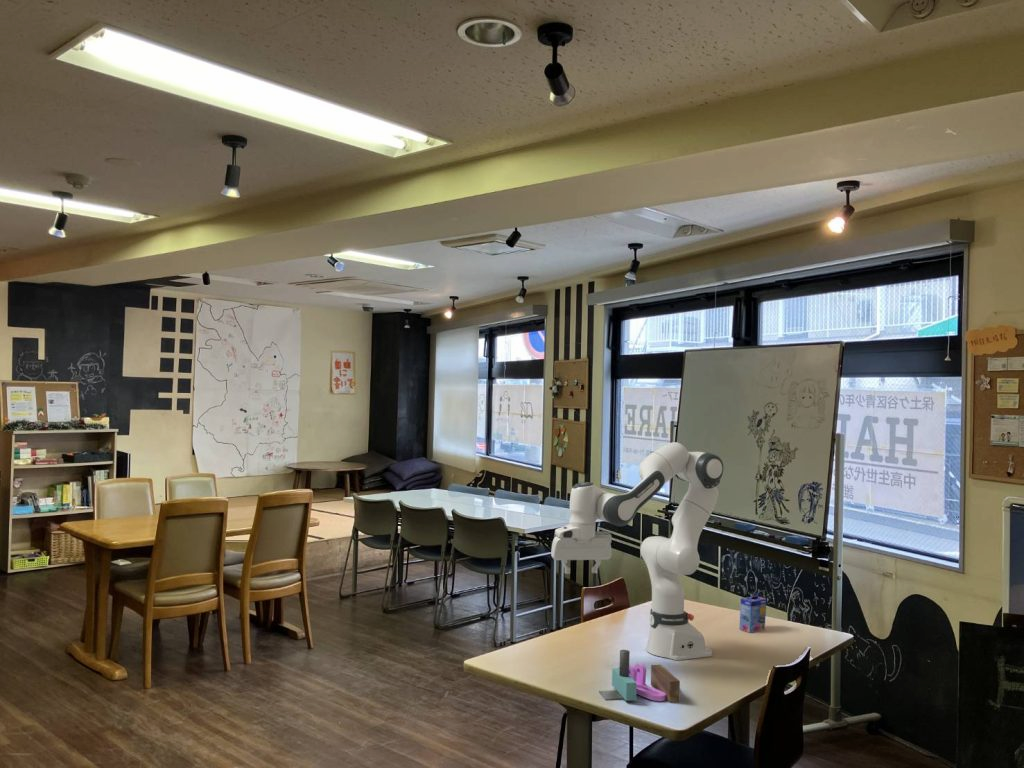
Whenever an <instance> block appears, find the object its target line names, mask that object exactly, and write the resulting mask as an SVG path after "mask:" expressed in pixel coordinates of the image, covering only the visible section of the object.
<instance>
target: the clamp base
mask: <svg viewBox="0 0 1024 768" xmlns="http://www.w3.org/2000/svg"><path fill="white" fill-rule="evenodd" d="M650 686H651V687H652V688H655V689H657V690H660V691H662V692H664V693H665V694H666V696H665V700H666V701H667V702H668V703H669V704H670V703H680V695H681V694H680V689H681V681H680V680H679V679H678V678H677V677H676V676H675V675H673V673H671V672H670V671H669V670H667V668H665V667H664V666H663V665H662V664H651V665H650ZM598 693H599V695H600V696H601V697H602V698H603V700H605V701H618V700H625V699H624V698H623V697H622V696H621V695H620V693H619V692H618V691H617V690H616V689H614V690H612V689H611V690H599V691H598Z"/></svg>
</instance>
